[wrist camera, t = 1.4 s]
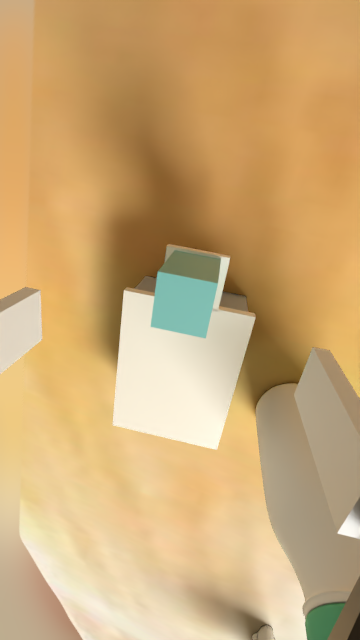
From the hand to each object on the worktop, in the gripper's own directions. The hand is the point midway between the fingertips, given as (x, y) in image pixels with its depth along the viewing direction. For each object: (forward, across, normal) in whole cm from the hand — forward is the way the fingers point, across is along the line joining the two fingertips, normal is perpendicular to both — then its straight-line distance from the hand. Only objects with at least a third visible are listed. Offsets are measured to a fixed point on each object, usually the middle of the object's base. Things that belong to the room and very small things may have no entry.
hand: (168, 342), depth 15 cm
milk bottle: (+16, +13, -14) cm, 25 cm away
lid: (+11, 0, -7) cm, 13 cm away
